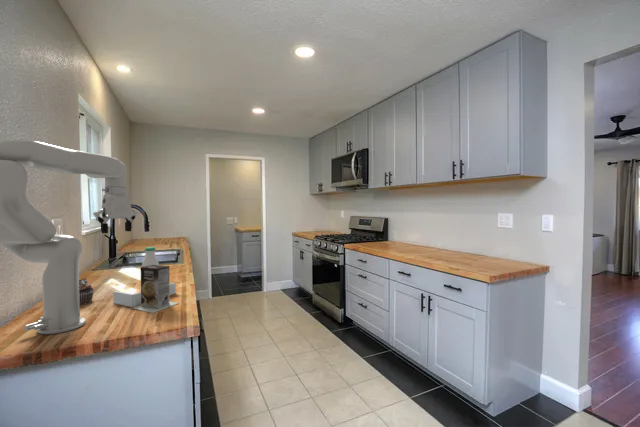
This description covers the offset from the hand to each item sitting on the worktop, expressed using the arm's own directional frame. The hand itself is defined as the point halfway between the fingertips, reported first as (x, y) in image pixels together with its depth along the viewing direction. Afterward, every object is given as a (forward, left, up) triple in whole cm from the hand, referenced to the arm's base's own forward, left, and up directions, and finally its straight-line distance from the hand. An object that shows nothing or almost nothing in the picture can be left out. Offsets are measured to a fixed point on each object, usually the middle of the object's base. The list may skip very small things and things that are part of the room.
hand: (116, 232), depth 129 cm
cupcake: (-6, +16, -31) cm, 35 cm away
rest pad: (+4, -18, -30) cm, 35 cm away
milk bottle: (+24, +12, -31) cm, 41 cm away
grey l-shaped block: (+10, -4, -30) cm, 32 cm away
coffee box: (+4, -18, -30) cm, 35 cm away
